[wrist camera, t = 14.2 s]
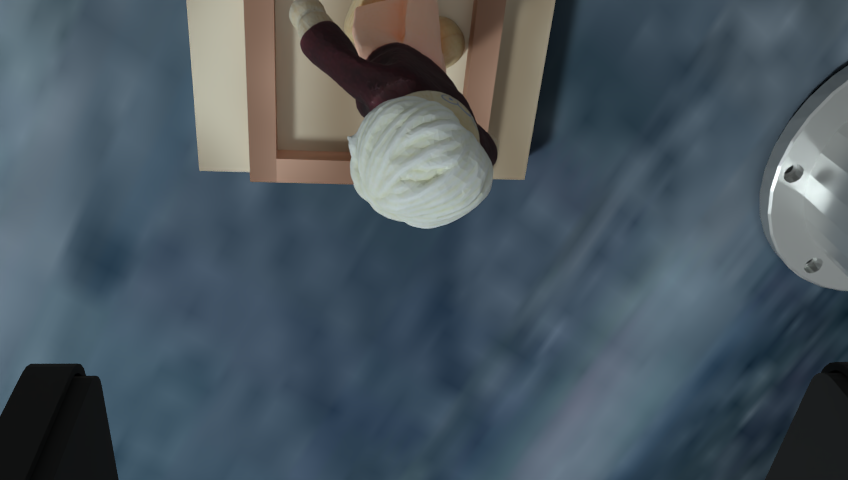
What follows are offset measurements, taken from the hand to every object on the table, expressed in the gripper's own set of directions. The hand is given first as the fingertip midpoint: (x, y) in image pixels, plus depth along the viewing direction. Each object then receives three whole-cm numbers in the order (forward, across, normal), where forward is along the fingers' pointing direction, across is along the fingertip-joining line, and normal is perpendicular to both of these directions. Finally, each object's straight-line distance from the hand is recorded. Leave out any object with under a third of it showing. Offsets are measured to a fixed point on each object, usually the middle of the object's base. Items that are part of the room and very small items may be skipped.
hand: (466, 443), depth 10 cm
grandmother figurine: (+20, 0, 0) cm, 21 cm away
